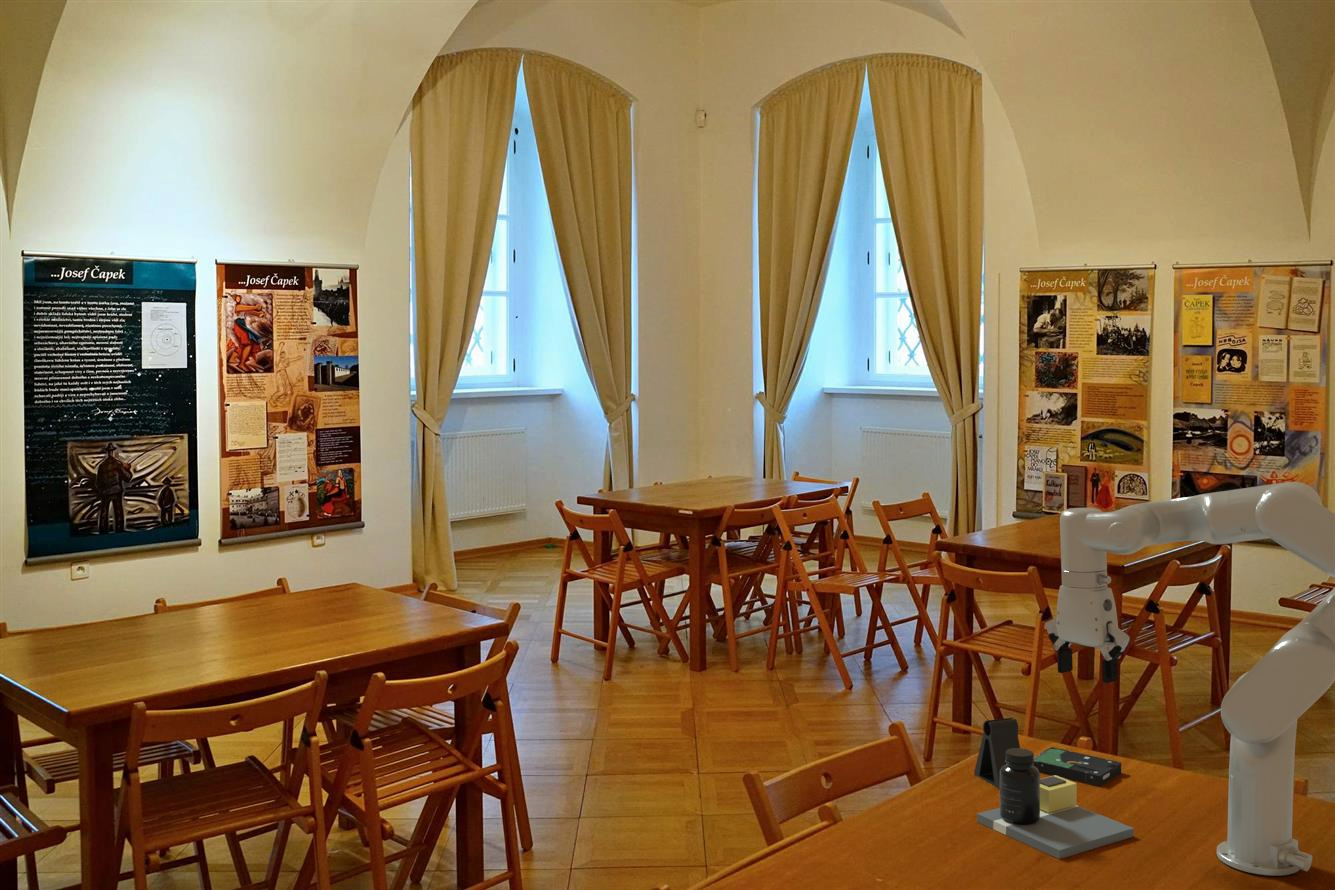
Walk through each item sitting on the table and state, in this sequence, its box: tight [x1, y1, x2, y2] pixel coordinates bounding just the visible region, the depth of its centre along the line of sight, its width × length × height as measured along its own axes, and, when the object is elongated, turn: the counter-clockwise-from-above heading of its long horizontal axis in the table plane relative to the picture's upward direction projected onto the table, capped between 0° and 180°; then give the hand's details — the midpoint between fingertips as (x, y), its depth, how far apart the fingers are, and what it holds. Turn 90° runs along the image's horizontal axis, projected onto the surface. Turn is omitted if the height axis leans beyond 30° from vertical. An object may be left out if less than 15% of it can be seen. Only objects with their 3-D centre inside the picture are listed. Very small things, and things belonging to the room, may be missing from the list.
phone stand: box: [973, 717, 1021, 790], centre depth 246 cm, size 9×6×12 cm, turn 18°
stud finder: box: [1040, 775, 1078, 813], centre depth 228 cm, size 5×7×4 cm
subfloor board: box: [976, 804, 1135, 860], centre depth 222 cm, size 19×18×2 cm
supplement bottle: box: [999, 747, 1041, 825], centre depth 222 cm, size 7×7×12 cm
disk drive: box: [1033, 746, 1122, 787], centre depth 251 cm, size 10×3×15 cm
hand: (1087, 676), depth 221 cm, fingers open, 9 cm apart
